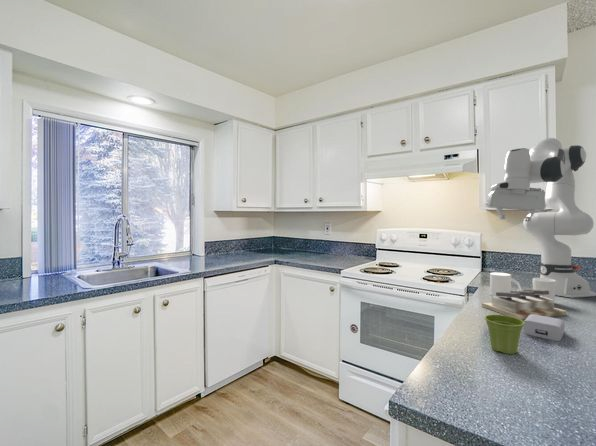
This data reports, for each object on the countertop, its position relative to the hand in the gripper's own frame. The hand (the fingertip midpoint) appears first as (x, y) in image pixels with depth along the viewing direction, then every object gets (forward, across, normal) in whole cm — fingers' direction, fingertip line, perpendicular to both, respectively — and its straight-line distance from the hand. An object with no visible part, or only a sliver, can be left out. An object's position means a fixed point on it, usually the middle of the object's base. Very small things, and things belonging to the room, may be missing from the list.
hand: (514, 220), depth 125 cm
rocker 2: (+30, -4, 0) cm, 30 cm away
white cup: (+33, -19, -15) cm, 41 cm away
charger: (+40, -1, +21) cm, 45 cm away
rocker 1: (+31, +2, +3) cm, 31 cm away
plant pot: (+43, +18, +39) cm, 61 cm away
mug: (+33, -7, -23) cm, 41 cm away
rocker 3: (+29, -10, -3) cm, 31 cm away
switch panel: (+36, -4, -1) cm, 36 cm away
